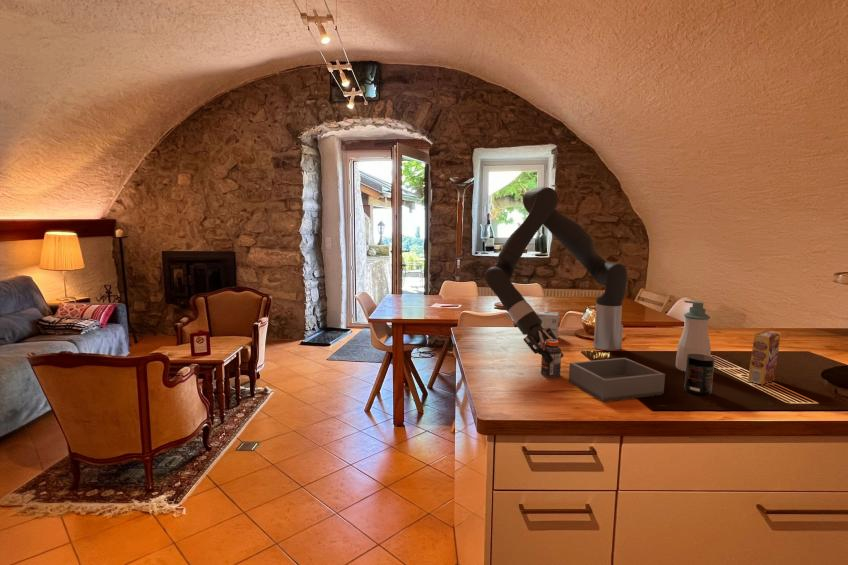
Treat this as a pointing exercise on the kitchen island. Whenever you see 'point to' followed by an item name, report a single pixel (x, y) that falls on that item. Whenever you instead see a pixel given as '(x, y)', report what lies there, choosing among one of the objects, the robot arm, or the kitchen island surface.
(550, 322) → the light bulb box
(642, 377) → the tote
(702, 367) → the supplement container
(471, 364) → the kitchen island surface
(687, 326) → the soap bottle
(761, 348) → the candy box
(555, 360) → the pill bottle
